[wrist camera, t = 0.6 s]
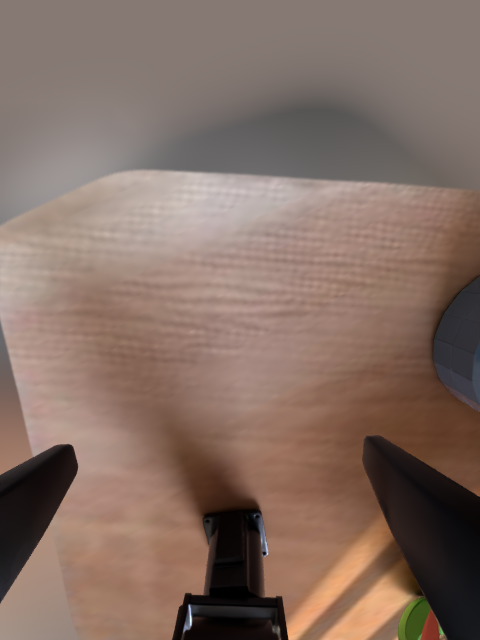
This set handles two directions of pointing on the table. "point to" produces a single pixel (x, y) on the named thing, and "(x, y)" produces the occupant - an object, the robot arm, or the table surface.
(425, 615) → the decorative plant
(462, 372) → the bowl
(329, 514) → the table surface
